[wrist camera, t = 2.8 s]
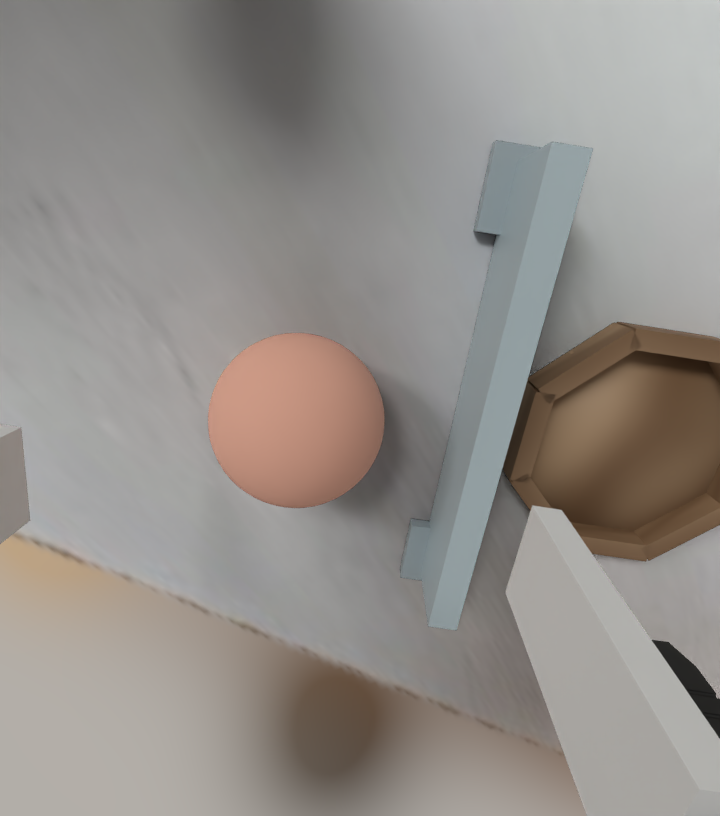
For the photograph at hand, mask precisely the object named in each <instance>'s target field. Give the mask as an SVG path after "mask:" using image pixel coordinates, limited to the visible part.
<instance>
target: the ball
mask: <svg viewBox="0 0 720 816" xmlns="http://www.w3.org/2000/svg"><path fill="white" fill-rule="evenodd" d="M384 423H385V418H384V407H383V401H382V397H381V394H380V391H379V388H378V386H377V384H376V382H375V380H374V377H373V376H372V374H371V373H370V371H369V370H368V368H367V367H366V366H365V365H364V364H363V363H362V361H361V360H360V359H359V358H358V357H357V356H355V355H354V354H353V353H352V352H351V351H350V350H348V349H347V348H345V347H344V346H342V345H340V344H338V343H337V342H335V341H333V340H330V339H327V338H325V337H322V336H317V335H313V334H305V333H286V334H280V335H275V336H272V337H269V338H265V339H263V340H261V341H259V342H257V343H255V344H253V345H251V346H250V347H248V348H247V349H245V350H244V351H242V352H241V353H240V354H239V355H237V356H236V357H235V358H234V359H233V360H232V361H231V363H230V364H229V365H228V366H227V367H226V369H225V370H224V371H223V373H222V374H221V376H220V378H219V379H218V381H217V384H216V386H215V388H214V391H213V393H212V397H211V401H210V405H209V413H208V429H209V436H210V441H211V445H212V448H213V451H214V453H215V455H216V458H217V460H218V462H219V464H220V465H221V467H222V469H223V470H224V472H225V473H226V474H227V475H228V477H229V478H230V479H231V480H232V481H233V482H234V483H235V484H236V485H237V486H238V487H240V488H241V489H242V490H243V491H245V492H246V493H248V494H249V495H251V496H253V497H254V498H257V499H259V500H261V501H263V502H266V503H269V504H272V505H276V506H281V507H289V508H305V507H312V506H317V505H320V504H324V503H326V502H329V501H331V500H334V499H336V498H338V497H339V496H341V495H343V494H345V493H346V492H347V491H349V490H350V489H352V488H353V487H354V486H355V485H356V484H357V483H358V482H359V481H360V480H361V479H362V478H363V477H364V476H365V474H366V473H367V472H368V471H369V469H370V468H371V466H372V464H373V462H374V461H375V459H376V457H377V454H378V452H379V449H380V447H381V443H382V439H383V433H384Z"/></svg>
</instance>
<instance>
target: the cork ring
mask: <svg viewBox="0 0 720 816" xmlns="http://www.w3.org/2000/svg"><path fill="white" fill-rule="evenodd" d="M503 470H504V472H505V474H506V476H507V477H508V479H509V481H510V483H511V484H512V486H513V487H514V488H515V490H516V491H517V493H518V494H519V496H520V497H521V498H522V500H523V501H524V503H525V504H526V505H527V507H528V508H529V510H530V511H531V508H532V505H533V506H540V507H546V508H553V509H559V510H562V511H563V512H564V514H565V515H566V517H567V518H568V520H569V521H570V523H571V524H572V526H573V527H574V528H575V530H576V531H577V533H578V534H579V536H580V537H581V539H582V540H583V541H584V543H585V544H586V546H587V547H588V549H589V550H590V552H591V553H592V554H598V555H605V556H612V557H619V558H626V559H633V560H640V561H646V560H647V559H648V561H649V560H651V559H653V558H655V557H657V556H659V555H661V554H663V553H665V552H667V551H669V550H671V549H673V548H675V547H677V546H679V545H681V544H683V543H685V542H687V541H689V540H691V539H693V538H695V537H697V536H699V535H701V534H703V533H705V532H707V531H708V530H710V529H712V528H714V527H716V526H718V525H720V339H719V338H716V337H712V336H705V335H699V334H693V333H686V332H680V331H673V330H667V329H661V328H654V327H648V326H642V325H635V324H629V323H622V322H617V323H612V324H611V325H609V326H608V327H606V328H604V329H603V330H601V331H600V332H598V333H597V334H595V335H593V336H592V337H590V338H589V339H587V340H586V341H584V342H583V343H581V344H579V345H578V346H576V347H575V348H573V349H572V350H570V351H568V352H567V353H565V354H564V355H562V356H561V357H559V358H558V359H556V360H554V361H553V362H551V363H550V364H548V365H547V366H545V367H543V368H542V369H540V370H539V371H537V372H536V373H534V374H533V375H531V376H529V377H528V381H527V384H526V387H525V391H524V394H523V398H522V401H521V405H520V408H519V412H518V415H517V419H516V422H515V426H514V429H513V433H512V436H511V440H510V443H509V447H508V451H507V454H506V458H505V461H504V465H503Z"/></svg>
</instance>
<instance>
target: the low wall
mask: <svg viewBox="0 0 720 816" xmlns="http://www.w3.org/2000/svg"><path fill="white" fill-rule="evenodd" d="M592 151H593V148H588V147H582V146H576V145H570V144H564V143H558V142H551V143H549V144H547V145H545V146H543V147H541V148H540V147H534V146H528V145H522V144H516V143H510V142H504V141H498V140H496V141H495V142H494V143H493V144H492V148H491V153H490V157H489V162H488V166H487V171H486V176H485V180H484V185H483V189H482V194H481V199H480V203H479V208H478V212H477V217H476V222H475V226H474V231H475V232H482V233H488V234H494V235H496V239H495V243H494V248H493V252H492V256H491V260H490V265H489V269H488V273H487V277H486V282H485V286H484V290H483V295H482V299H481V303H480V307H479V312H478V316H477V320H476V324H475V329H474V333H473V337H472V342H471V346H470V350H469V354H468V359H467V363H466V367H465V371H464V376H463V380H462V384H461V389H460V393H459V397H458V401H457V406H456V410H455V414H454V419H453V423H452V427H451V431H450V436H449V440H448V444H447V448H446V453H445V457H444V461H443V466H442V470H441V474H440V478H439V483H438V487H437V491H436V495H435V500H434V504H433V508H432V513H431V517H430V521H424V520H417V519H411V520H410V525H409V530H408V534H407V539H406V543H405V548H404V553H403V557H402V562H401V566H400V578H407V579H414V580H421V581H422V586H423V593H424V600H425V608H426V615H427V622H428V627H435V628H442V629H449V630H457V627H458V623H459V620H460V616H461V613H462V609H463V606H464V602H465V599H466V595H467V591H468V588H469V584H470V581H471V577H472V574H473V570H474V567H475V563H476V560H477V556H478V553H479V549H480V546H481V542H482V539H483V535H484V532H485V528H486V525H487V521H488V517H489V514H490V510H491V507H492V503H493V500H494V496H495V493H496V489H497V486H498V482H499V479H500V475H501V472H502V468H503V465H504V461H505V458H506V454H507V451H508V447H509V443H510V440H511V436H512V433H513V429H514V426H515V422H516V419H517V415H518V412H519V408H520V405H521V401H522V398H523V394H524V391H525V387H526V384H527V380H528V376H529V373H530V369H531V366H532V362H533V359H534V355H535V352H536V348H537V345H538V341H539V338H540V334H541V331H542V327H543V324H544V320H545V317H546V313H547V310H548V306H549V302H550V299H551V295H552V292H553V288H554V285H555V281H556V278H557V274H558V271H559V267H560V264H561V260H562V257H563V253H564V250H565V246H566V243H567V239H568V236H569V232H570V228H571V225H572V221H573V218H574V214H575V211H576V207H577V204H578V200H579V197H580V193H581V190H582V186H583V183H584V179H585V176H586V172H587V169H588V165H589V162H590V158H591V154H592Z"/></svg>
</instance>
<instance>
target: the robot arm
mask: <svg viewBox="0 0 720 816" xmlns="http://www.w3.org/2000/svg"><path fill="white" fill-rule="evenodd" d="M29 521H30V513H29V503H28V493H27V482H26V472H25V462H24V452H23V441H22V431H21V427H16V426H10V425H3V424H0V544H1V543H2V542H3V541H4V540H6V539H7V538H8V537H10V536H11V535H12V534H13V533H15V532H16V531H17V530H19V529H20V528H21V527H22V526H24V525H25V524H26V523H28V522H29ZM506 595H507V598H508V601H509V603H510V606H511V609H512V612H513V614H514V617H515V620H516V623H517V626H518V628H519V631H520V634H521V637H522V639H523V642H524V645H525V648H526V650H527V653H528V656H529V659H530V661H531V664H532V667H533V670H534V672H535V675H536V678H537V681H538V683H539V686H540V689H541V692H542V694H543V697H544V700H545V703H546V705H547V708H548V711H549V714H550V716H551V719H552V722H553V725H554V727H555V730H556V733H557V736H558V738H559V741H560V744H561V747H562V749H563V752H564V755H565V758H566V760H567V763H568V766H569V769H570V771H571V774H572V777H573V779H574V782H575V785H576V788H577V790H578V793H579V796H580V799H581V802H582V804H583V807H584V810H585V813H586V815H587V816H720V699H717V698H716V693H715V691H714V690H713V689H712V687H711V686H710V685H709V683H708V682H707V681H706V679H705V678H704V677H703V675H702V674H701V673H700V671H699V670H698V669H697V667H696V666H695V665H694V664H692V663H691V662H690V661H689V660H688V659H687V658H686V657H684V656H683V655H682V654H681V653H680V652H679V651H678V650H677V649H675V648H674V647H673V646H672V645H671V644H670V643H669V642H663V641H657V640H651V639H650V637H649V636H648V634H647V633H646V631H645V630H644V628H643V627H642V625H641V624H640V623H639V621H638V620H637V618H636V617H635V615H634V614H633V612H632V611H631V610H630V608H629V607H628V605H627V604H626V602H625V601H624V599H623V598H622V597H621V595H620V594H619V592H618V591H617V589H616V588H615V586H614V585H613V583H612V582H611V581H610V579H609V578H608V576H607V575H606V573H605V572H604V570H603V569H602V568H601V566H600V565H599V563H598V562H597V560H596V559H595V557H594V556H593V555H592V553H591V552H590V550H589V549H588V547H587V546H586V544H585V543H584V541H583V540H582V539H581V537H580V536H579V534H578V533H577V531H576V530H575V528H574V527H573V526H572V524H571V523H570V521H569V520H568V518H567V517H566V515H565V514H564V512H563V511H562V510H559V509H553V508H546V507H540V506H533V505H532V508H531V511H530V514H529V518H528V521H527V524H526V527H525V530H524V534H523V537H522V540H521V543H520V546H519V550H518V553H517V556H516V559H515V563H514V566H513V569H512V572H511V575H510V579H509V582H508V585H507V588H506Z"/></svg>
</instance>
